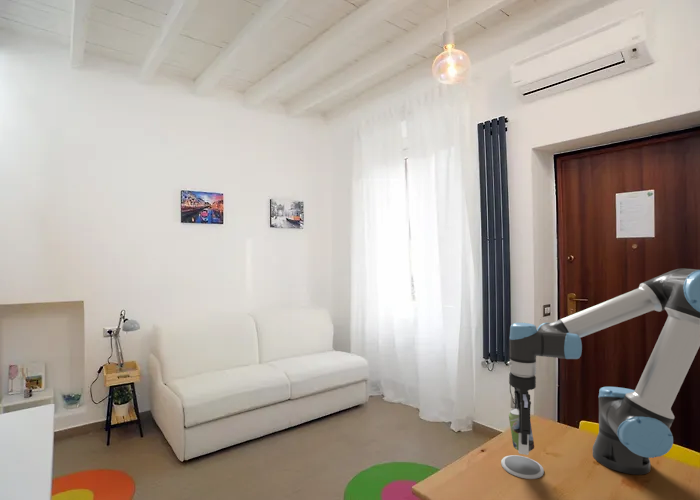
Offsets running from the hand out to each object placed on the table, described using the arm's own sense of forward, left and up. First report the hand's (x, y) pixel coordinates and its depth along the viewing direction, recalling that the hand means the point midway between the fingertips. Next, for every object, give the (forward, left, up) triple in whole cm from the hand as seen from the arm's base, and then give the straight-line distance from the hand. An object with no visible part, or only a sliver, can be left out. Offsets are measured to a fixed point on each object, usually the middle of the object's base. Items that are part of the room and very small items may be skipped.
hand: (521, 448), depth 120 cm
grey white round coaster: (0, 0, -6) cm, 6 cm away
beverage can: (0, 0, -1) cm, 1 cm away
